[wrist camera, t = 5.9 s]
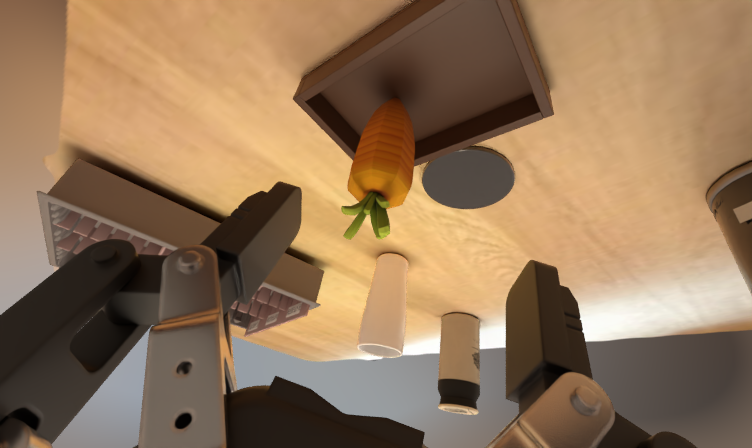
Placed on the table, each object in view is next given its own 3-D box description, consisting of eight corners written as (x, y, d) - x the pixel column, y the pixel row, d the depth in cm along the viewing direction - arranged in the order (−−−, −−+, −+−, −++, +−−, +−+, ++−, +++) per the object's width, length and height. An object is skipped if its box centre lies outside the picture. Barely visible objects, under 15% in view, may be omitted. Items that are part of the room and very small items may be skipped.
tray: (496, -55, 22) (498, -35, 20) (549, 91, 29) (554, 114, 27) (301, 78, 32) (292, 99, 30) (378, 161, 39) (373, 181, 38)
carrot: (374, 122, 34) (342, 256, 26) (363, 77, 30) (322, 217, 22) (425, 120, 33) (408, 259, 25) (421, 72, 29) (399, 219, 21)
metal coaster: (493, 132, 33) (494, 136, 33) (526, 192, 40) (527, 196, 39) (406, 165, 39) (405, 168, 39) (447, 213, 45) (446, 216, 45)
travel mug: (443, 323, 80) (439, 410, 70) (440, 311, 74) (434, 404, 64) (479, 326, 78) (480, 416, 68) (478, 313, 72) (479, 410, 62)
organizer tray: (77, 144, 45) (23, 204, 40) (331, 264, 63) (318, 317, 58) (76, 228, 68) (41, 274, 62) (263, 299, 86) (249, 339, 81)
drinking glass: (397, 245, 54) (383, 343, 46) (420, 265, 58) (412, 357, 50) (364, 254, 58) (346, 345, 50) (388, 271, 62) (375, 358, 54)
